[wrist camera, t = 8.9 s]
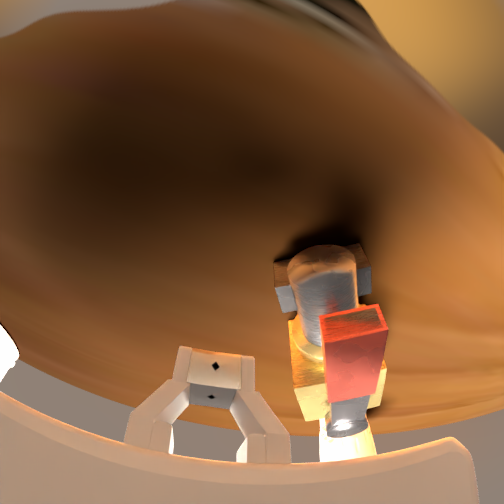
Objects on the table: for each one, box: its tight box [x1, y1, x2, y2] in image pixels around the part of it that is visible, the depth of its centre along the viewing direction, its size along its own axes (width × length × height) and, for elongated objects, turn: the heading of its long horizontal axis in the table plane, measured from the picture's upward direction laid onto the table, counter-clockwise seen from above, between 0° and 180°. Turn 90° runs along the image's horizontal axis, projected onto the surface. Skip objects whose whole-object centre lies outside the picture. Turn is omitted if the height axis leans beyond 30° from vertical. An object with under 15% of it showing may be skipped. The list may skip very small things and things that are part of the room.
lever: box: [319, 304, 388, 438], centre depth 15 cm, size 14×3×2 cm, turn 13°
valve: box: [273, 243, 387, 421], centre depth 22 cm, size 20×7×8 cm, turn 16°
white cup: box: [319, 418, 377, 462], centre depth 31 cm, size 8×8×10 cm
